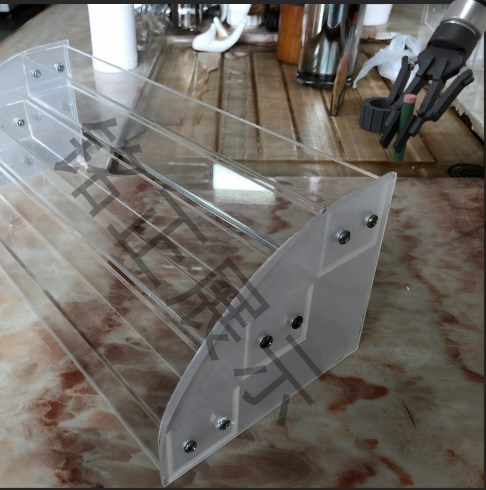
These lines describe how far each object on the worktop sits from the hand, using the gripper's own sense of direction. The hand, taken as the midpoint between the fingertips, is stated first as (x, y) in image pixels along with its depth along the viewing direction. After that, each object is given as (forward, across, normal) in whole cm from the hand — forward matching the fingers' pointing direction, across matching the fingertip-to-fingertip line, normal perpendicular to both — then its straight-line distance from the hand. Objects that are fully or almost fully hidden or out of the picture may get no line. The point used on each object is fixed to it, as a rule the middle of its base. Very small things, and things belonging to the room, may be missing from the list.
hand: (389, 147), depth 105 cm
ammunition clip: (-13, +28, -22) cm, 37 cm away
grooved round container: (-11, +15, -20) cm, 28 cm away
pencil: (0, 0, -5) cm, 5 cm away
